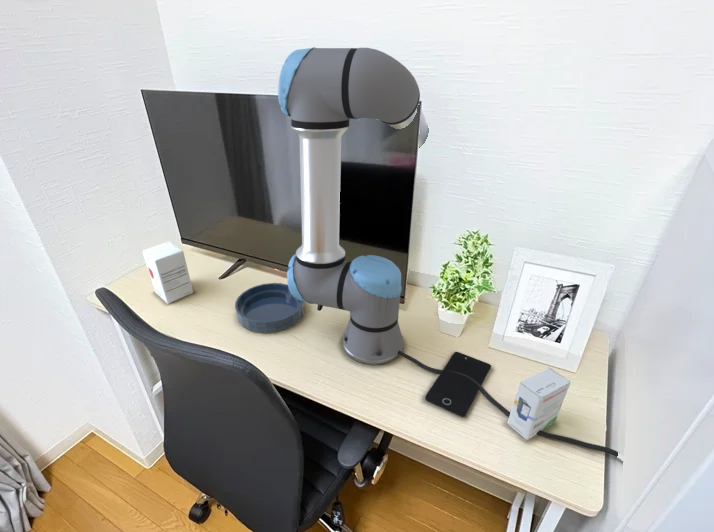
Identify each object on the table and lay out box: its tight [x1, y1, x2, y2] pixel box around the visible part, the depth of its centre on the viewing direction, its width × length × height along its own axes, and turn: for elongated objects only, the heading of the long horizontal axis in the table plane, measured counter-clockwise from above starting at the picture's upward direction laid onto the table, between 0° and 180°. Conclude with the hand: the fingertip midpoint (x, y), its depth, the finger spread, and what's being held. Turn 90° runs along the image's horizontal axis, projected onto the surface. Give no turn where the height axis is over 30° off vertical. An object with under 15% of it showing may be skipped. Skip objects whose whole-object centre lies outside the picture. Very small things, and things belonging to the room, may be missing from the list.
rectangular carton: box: [142, 241, 194, 305], centre depth 125 cm, size 9×9×15 cm
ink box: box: [506, 367, 572, 441], centre depth 81 cm, size 9×5×12 cm, turn 118°
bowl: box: [234, 282, 306, 334], centre depth 118 cm, size 19×19×4 cm
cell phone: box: [424, 351, 492, 418], centre depth 94 cm, size 9×18×1 cm, turn 144°
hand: (335, 247), depth 123 cm, fingers open, 13 cm apart
